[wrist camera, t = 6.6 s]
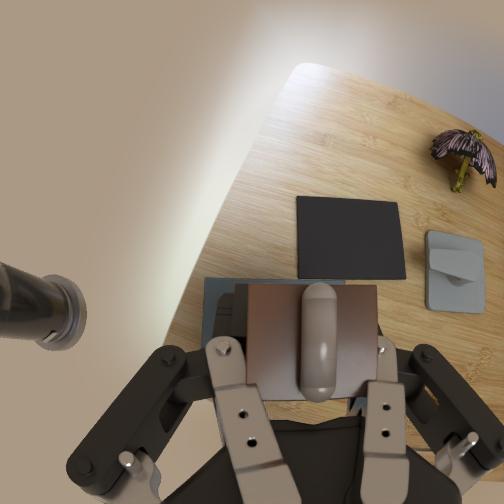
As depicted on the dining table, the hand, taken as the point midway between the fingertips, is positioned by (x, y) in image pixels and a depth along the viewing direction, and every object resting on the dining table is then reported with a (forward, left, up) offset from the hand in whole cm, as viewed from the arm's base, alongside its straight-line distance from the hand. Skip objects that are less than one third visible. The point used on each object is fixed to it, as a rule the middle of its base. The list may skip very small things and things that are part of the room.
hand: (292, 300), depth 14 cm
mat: (+12, +12, -26) cm, 31 cm away
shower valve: (+29, +7, -26) cm, 40 cm away
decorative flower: (+34, +26, -26) cm, 50 cm away
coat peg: (0, -2, -5) cm, 5 cm away
